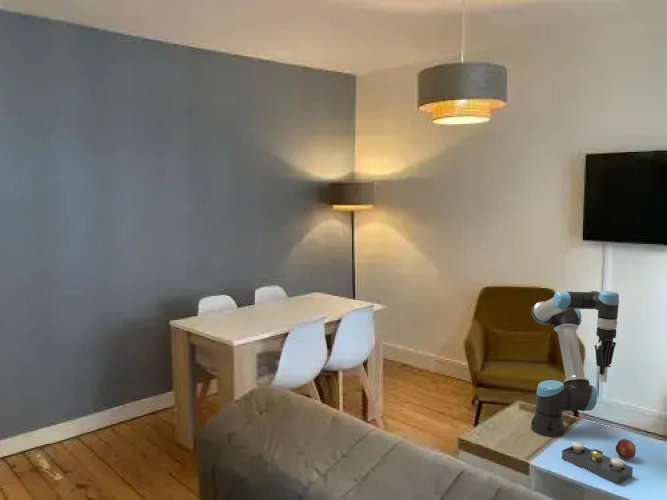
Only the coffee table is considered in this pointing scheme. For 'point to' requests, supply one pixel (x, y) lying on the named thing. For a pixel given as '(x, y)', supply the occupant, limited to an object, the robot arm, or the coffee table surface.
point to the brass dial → (596, 455)
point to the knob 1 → (577, 447)
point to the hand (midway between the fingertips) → (602, 381)
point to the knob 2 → (617, 463)
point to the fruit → (626, 449)
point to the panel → (597, 465)
